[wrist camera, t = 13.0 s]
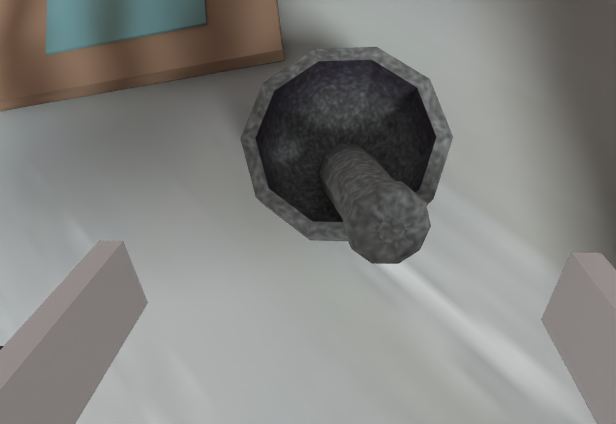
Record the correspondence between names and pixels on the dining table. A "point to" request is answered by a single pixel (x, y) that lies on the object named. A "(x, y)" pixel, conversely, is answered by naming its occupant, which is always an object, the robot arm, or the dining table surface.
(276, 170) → the mortar and pestle
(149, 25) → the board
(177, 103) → the dining table surface
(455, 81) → the dining table surface
